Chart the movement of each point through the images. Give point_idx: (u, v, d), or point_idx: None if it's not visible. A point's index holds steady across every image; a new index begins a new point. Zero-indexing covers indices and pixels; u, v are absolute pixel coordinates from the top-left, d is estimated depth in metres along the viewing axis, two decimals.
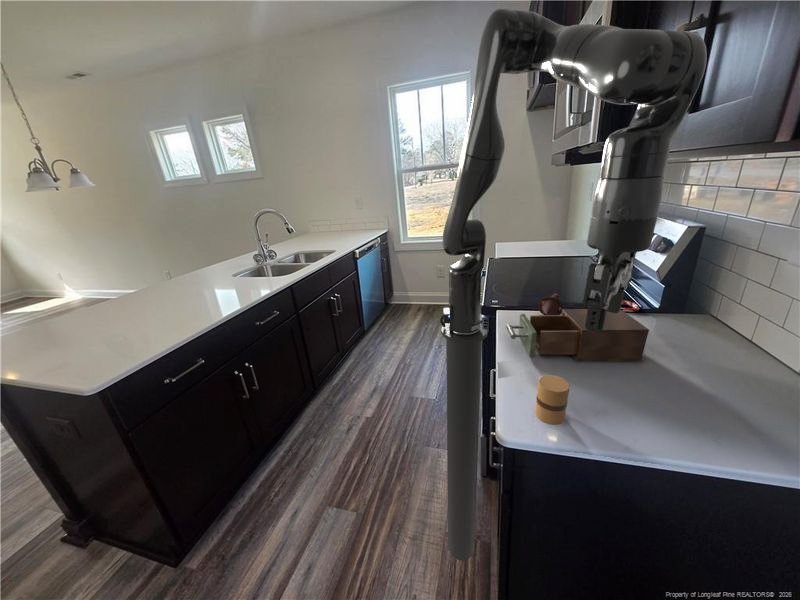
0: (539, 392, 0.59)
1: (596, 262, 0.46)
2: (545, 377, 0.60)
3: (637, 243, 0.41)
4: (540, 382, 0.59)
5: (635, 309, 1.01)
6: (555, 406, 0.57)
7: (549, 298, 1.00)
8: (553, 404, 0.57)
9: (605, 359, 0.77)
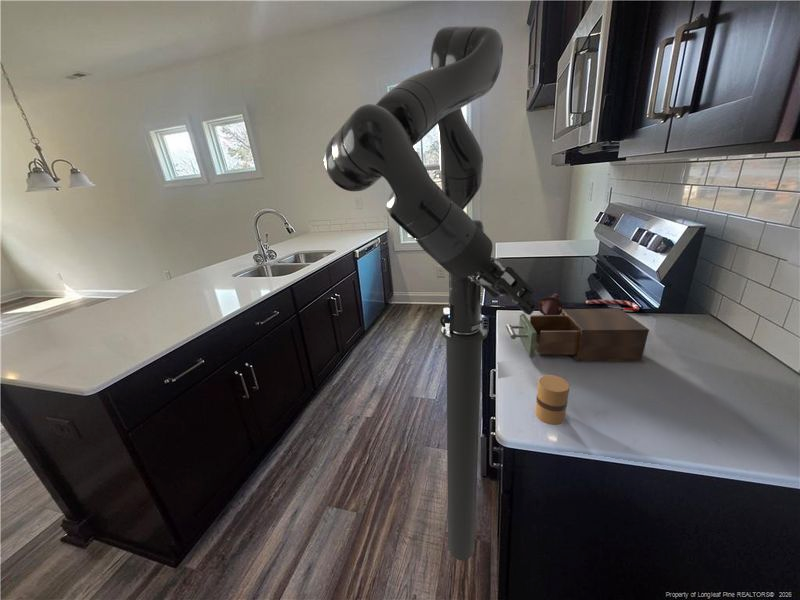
0: (539, 392, 0.59)
1: None
2: (545, 377, 0.60)
3: None
4: (540, 382, 0.59)
5: (635, 309, 1.01)
6: (555, 406, 0.57)
7: (549, 298, 1.00)
8: (553, 404, 0.57)
9: (605, 359, 0.77)
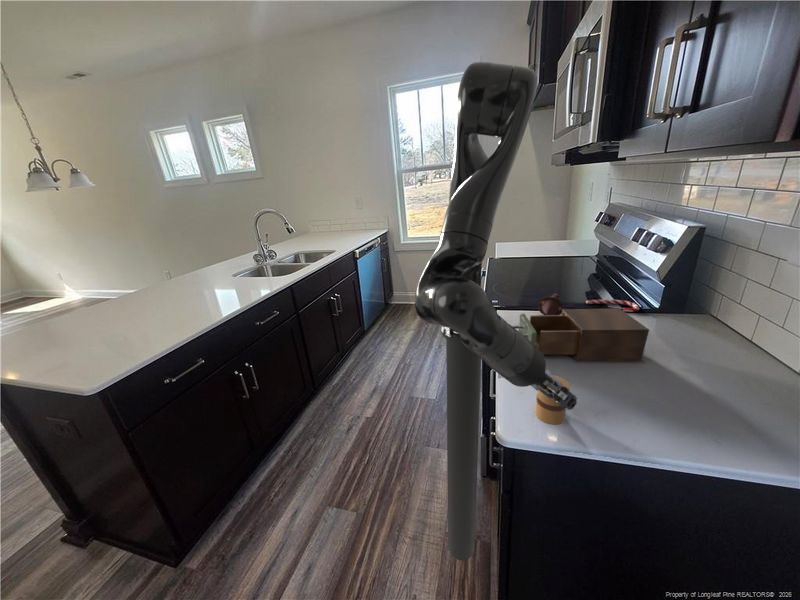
0: (539, 392, 0.59)
1: None
2: None
3: None
4: None
5: (635, 309, 1.01)
6: (555, 406, 0.57)
7: (549, 298, 1.00)
8: (553, 404, 0.57)
9: (605, 359, 0.77)
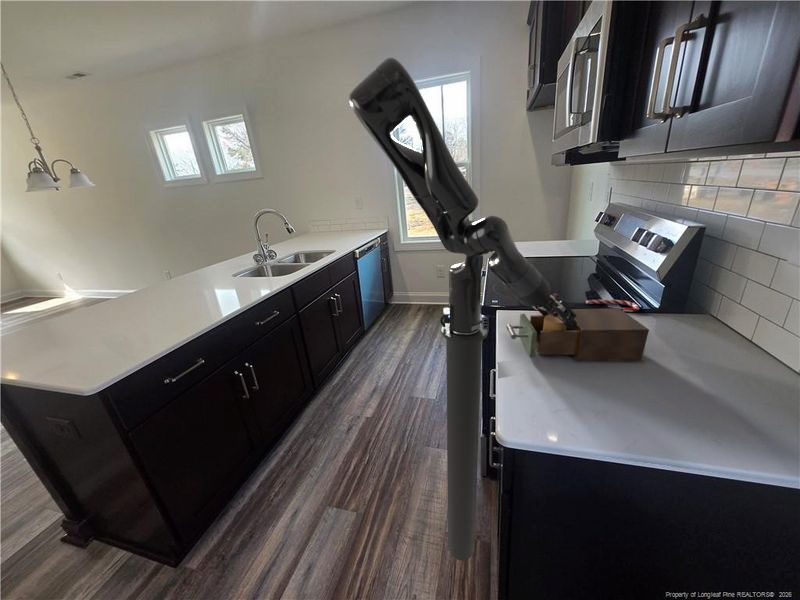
0: (545, 325, 0.80)
1: None
2: (549, 315, 0.81)
3: None
4: (545, 318, 0.80)
5: (635, 309, 1.01)
6: None
7: None
8: None
9: (605, 359, 0.77)
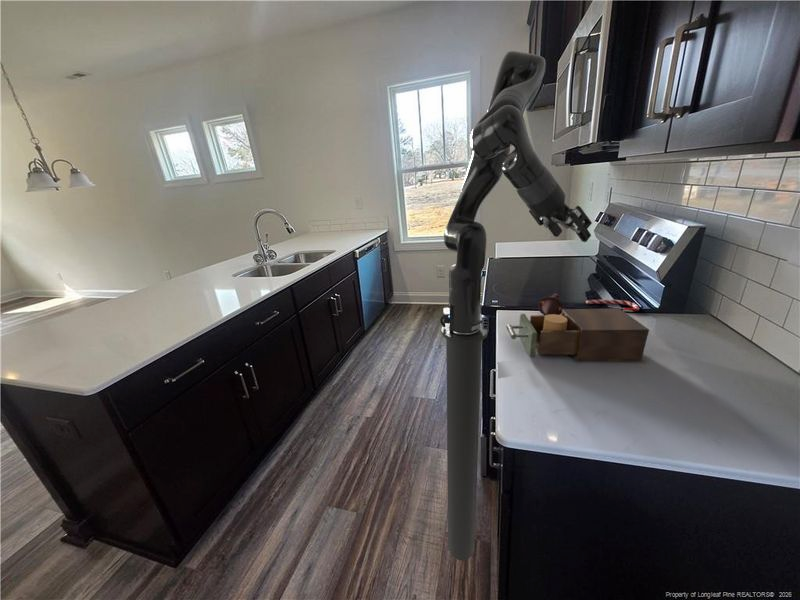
0: (545, 325, 0.80)
1: None
2: (549, 315, 0.81)
3: None
4: (545, 318, 0.80)
5: (635, 309, 1.01)
6: None
7: (549, 298, 1.00)
8: None
9: (605, 359, 0.77)
